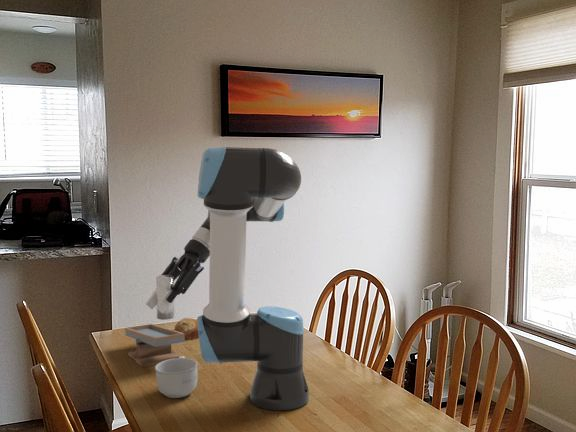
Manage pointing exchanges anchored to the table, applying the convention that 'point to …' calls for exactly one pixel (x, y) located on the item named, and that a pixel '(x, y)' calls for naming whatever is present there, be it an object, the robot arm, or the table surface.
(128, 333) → the rectangular tray
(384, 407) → the table surface
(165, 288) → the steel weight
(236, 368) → the table surface
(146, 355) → the fulcrum
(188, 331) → the bread roll
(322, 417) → the table surface
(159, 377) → the teacup
